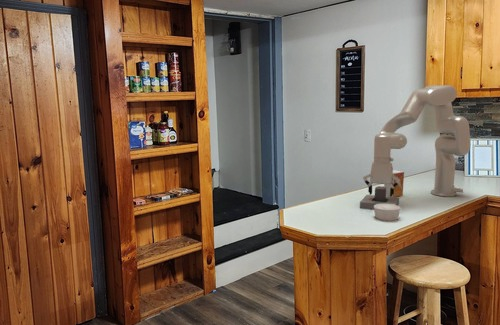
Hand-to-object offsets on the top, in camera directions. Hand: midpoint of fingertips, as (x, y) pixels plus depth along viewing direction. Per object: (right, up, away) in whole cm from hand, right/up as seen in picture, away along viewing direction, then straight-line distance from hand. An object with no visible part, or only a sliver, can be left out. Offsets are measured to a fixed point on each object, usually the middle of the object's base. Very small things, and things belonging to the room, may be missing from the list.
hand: (380, 194), depth 212 cm
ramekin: (-3, -9, -19) cm, 21 cm away
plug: (0, -5, +1) cm, 5 cm away
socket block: (0, -5, +1) cm, 5 cm away
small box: (+13, -2, +21) cm, 24 cm away
